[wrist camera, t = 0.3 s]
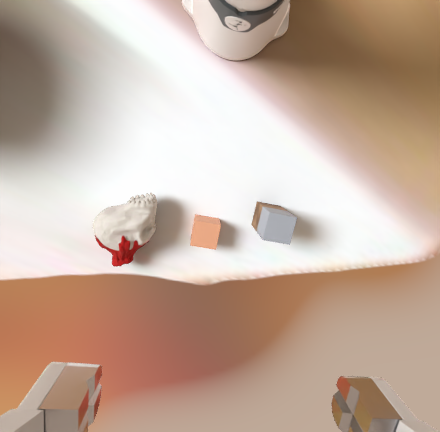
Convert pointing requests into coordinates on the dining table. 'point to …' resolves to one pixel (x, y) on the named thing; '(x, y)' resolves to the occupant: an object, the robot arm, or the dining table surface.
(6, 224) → the dining table surface
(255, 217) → the tower base
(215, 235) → the terracotta block
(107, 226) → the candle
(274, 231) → the block
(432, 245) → the dining table surface
